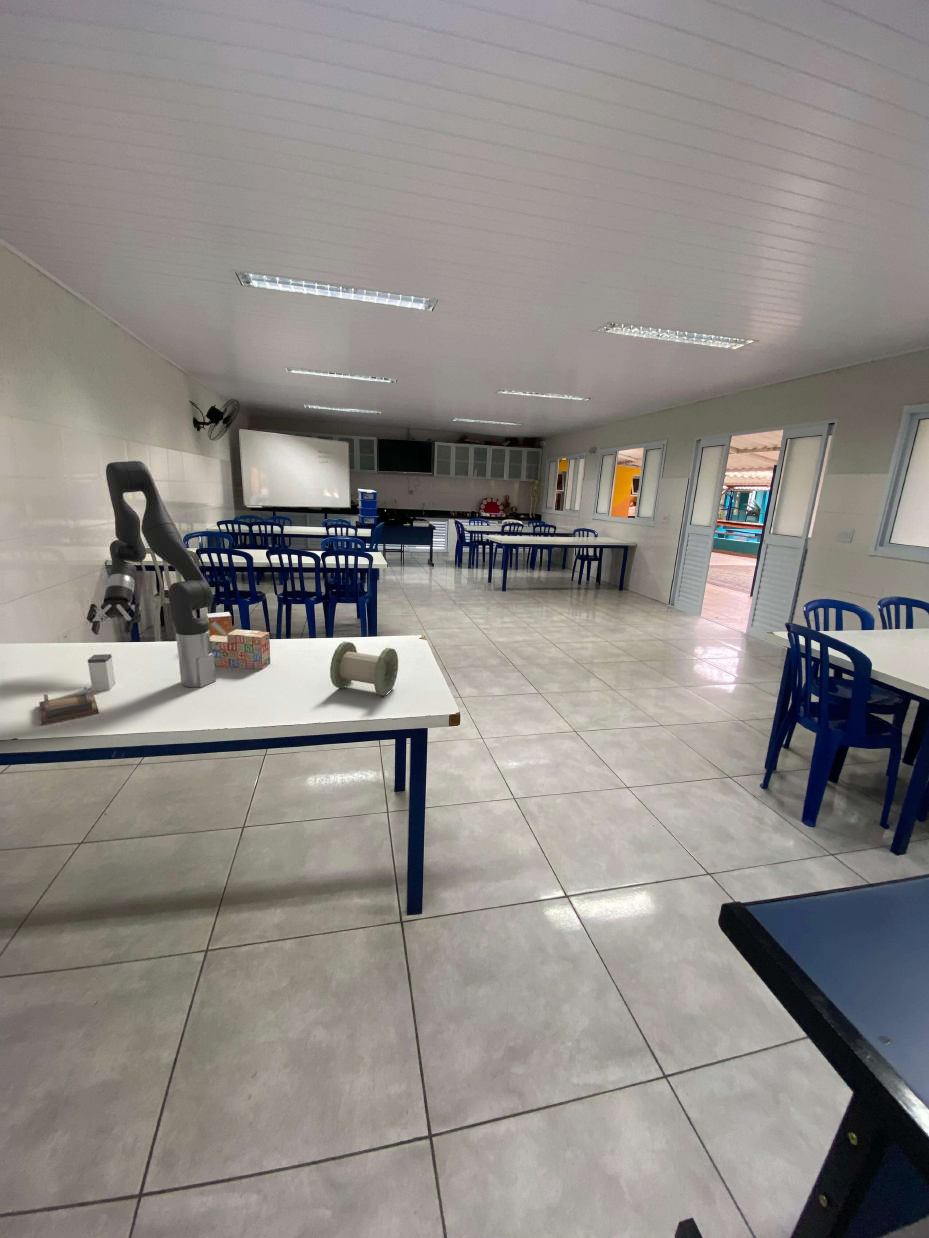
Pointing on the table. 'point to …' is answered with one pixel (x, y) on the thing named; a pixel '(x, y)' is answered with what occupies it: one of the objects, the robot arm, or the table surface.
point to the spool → (364, 668)
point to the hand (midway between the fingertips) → (111, 633)
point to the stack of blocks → (242, 649)
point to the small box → (219, 623)
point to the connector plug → (101, 672)
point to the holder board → (67, 707)
